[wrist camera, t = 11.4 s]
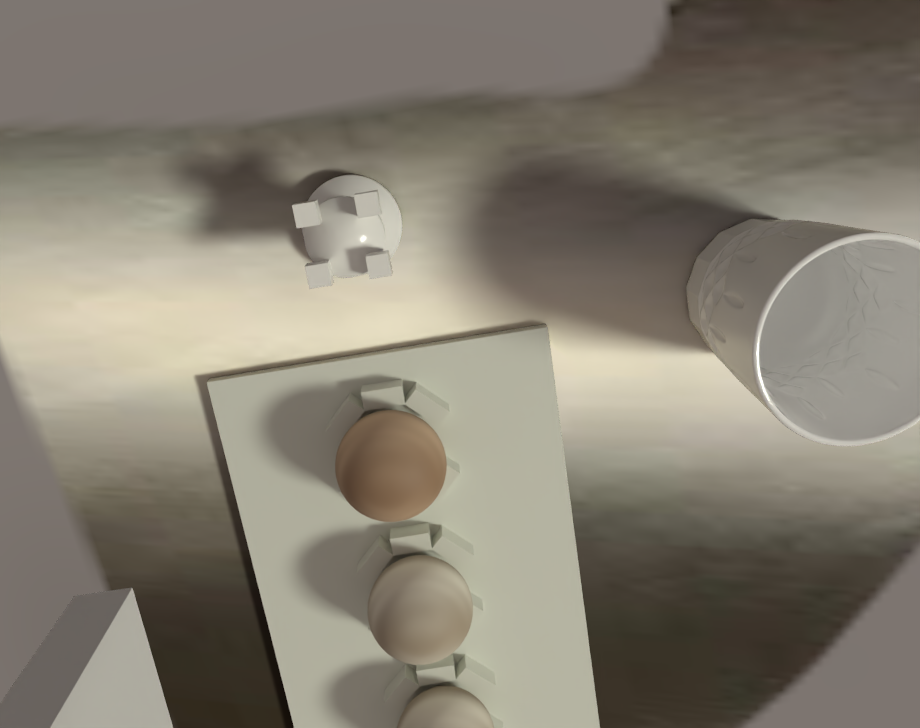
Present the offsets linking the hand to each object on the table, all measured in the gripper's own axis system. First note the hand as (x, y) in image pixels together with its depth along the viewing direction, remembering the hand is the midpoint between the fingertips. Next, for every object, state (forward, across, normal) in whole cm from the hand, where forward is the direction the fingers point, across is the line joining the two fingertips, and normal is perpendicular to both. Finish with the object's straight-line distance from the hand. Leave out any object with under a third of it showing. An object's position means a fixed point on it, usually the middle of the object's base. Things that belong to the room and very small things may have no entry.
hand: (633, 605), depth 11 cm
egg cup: (+28, -6, +2) cm, 29 cm away
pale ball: (+27, -5, -24) cm, 37 cm away
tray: (+28, -5, -16) cm, 33 cm away
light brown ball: (+28, -5, -9) cm, 30 cm away
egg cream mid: (+27, -5, -16) cm, 32 cm away
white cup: (+29, +12, -4) cm, 32 cm away
